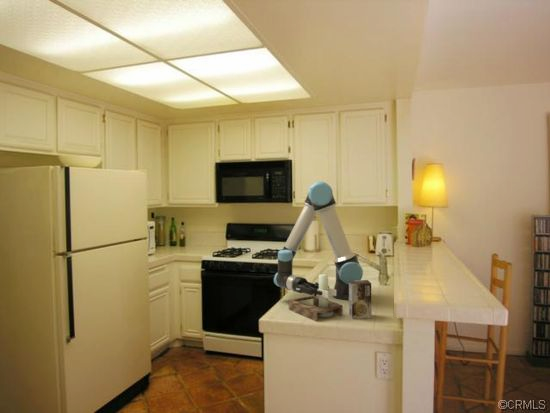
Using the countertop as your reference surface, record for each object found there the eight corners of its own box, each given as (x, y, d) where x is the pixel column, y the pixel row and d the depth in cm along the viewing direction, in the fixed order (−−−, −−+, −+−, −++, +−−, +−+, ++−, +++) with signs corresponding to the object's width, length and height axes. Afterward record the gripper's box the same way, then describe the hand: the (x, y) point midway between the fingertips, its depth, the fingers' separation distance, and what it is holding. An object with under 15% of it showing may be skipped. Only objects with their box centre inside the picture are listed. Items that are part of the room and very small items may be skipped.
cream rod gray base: (324, 310, 184) (324, 272, 183) (337, 315, 176) (337, 275, 176) (309, 313, 179) (309, 274, 178) (322, 318, 171) (322, 278, 171)
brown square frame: (288, 309, 187) (288, 300, 187) (314, 304, 195) (314, 295, 195) (315, 321, 170) (315, 311, 169) (342, 314, 178) (342, 305, 178)
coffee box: (367, 314, 179) (368, 279, 179) (371, 318, 173) (372, 282, 172) (348, 314, 179) (348, 279, 178) (351, 319, 173) (351, 283, 172)
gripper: (310, 289, 197) (345, 298, 178) (284, 294, 186) (318, 305, 168) (310, 274, 196) (345, 282, 178) (284, 279, 186) (318, 288, 167)
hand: (331, 293), depth 173 cm, fingers closed on cream rod gray base, 4 cm apart
